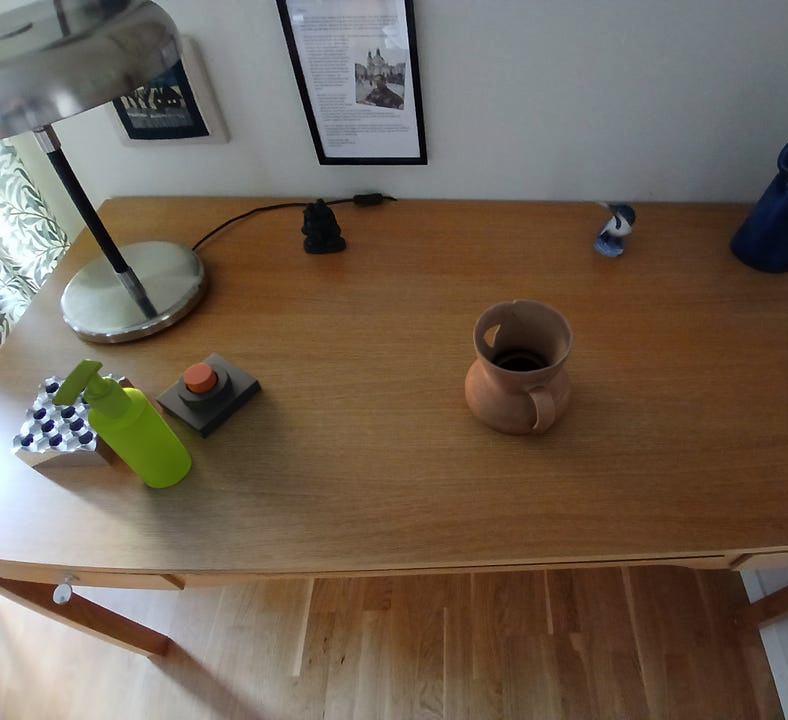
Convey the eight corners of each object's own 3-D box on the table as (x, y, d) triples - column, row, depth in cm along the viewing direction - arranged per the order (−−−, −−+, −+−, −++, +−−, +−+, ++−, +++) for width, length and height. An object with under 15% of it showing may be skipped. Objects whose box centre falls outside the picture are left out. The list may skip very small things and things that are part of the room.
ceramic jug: (452, 365, 82) (449, 295, 71) (545, 347, 85) (556, 277, 74) (483, 471, 71) (485, 408, 60) (589, 447, 73) (610, 382, 63)
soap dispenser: (128, 492, 69) (29, 397, 53) (158, 444, 73) (74, 344, 58) (172, 499, 68) (85, 406, 53) (200, 451, 73) (126, 351, 57)
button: (201, 398, 74) (195, 388, 72) (183, 385, 75) (177, 376, 73) (222, 380, 75) (217, 370, 74) (205, 368, 77) (199, 359, 75)
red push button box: (205, 439, 74) (193, 422, 71) (161, 408, 77) (148, 390, 74) (262, 389, 79) (253, 371, 76) (219, 361, 82) (209, 343, 79)
